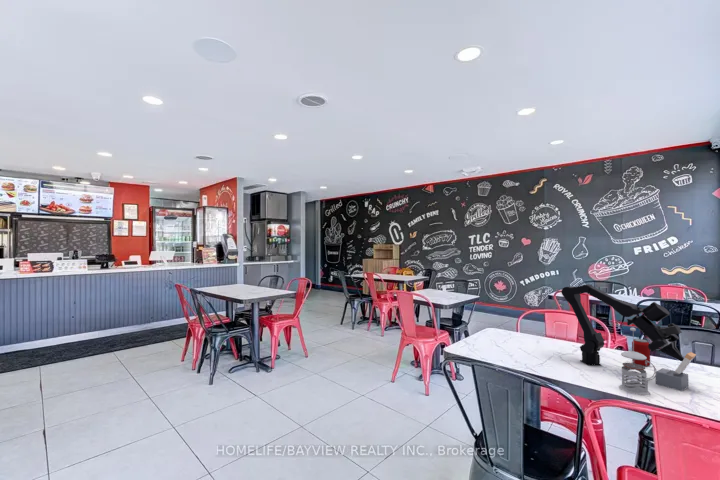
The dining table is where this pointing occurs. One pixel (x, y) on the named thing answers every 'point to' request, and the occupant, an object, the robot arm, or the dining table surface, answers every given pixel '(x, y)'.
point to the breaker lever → (685, 362)
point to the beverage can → (641, 351)
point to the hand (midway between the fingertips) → (683, 360)
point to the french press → (635, 373)
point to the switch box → (672, 379)
